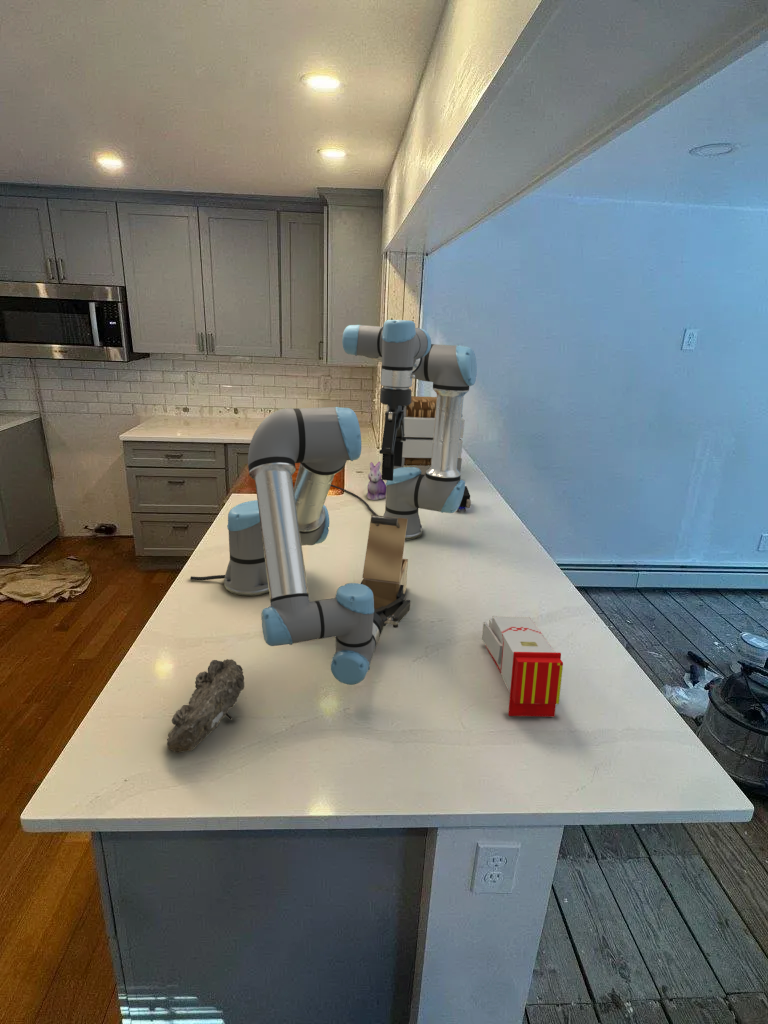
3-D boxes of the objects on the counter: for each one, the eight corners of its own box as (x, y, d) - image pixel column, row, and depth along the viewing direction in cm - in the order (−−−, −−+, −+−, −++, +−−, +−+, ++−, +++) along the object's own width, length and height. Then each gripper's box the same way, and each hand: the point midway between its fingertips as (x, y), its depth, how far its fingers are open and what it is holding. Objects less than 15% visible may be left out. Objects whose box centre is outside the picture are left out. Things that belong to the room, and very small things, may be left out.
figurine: (371, 501, 231) (372, 466, 226) (360, 494, 239) (361, 460, 234) (391, 499, 235) (393, 464, 230) (380, 492, 244) (382, 458, 238)
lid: (371, 515, 148) (366, 508, 140) (407, 519, 146) (404, 512, 138) (362, 578, 145) (356, 574, 136) (399, 582, 143) (395, 579, 135)
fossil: (192, 660, 117) (244, 628, 112) (224, 691, 120) (276, 661, 115) (142, 746, 98) (202, 712, 93) (182, 779, 101) (242, 748, 96)
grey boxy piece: (382, 463, 289) (386, 382, 275) (445, 464, 293) (451, 384, 279) (390, 482, 257) (394, 392, 243) (460, 483, 261) (468, 394, 247)
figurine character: (470, 516, 223) (465, 500, 237) (473, 499, 220) (467, 484, 233) (453, 516, 223) (449, 500, 236) (455, 498, 220) (451, 483, 233)
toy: (528, 601, 136) (572, 659, 107) (523, 653, 139) (565, 722, 110) (478, 600, 136) (508, 657, 107) (474, 652, 139) (503, 722, 109)
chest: (373, 585, 162) (374, 555, 159) (406, 589, 160) (408, 559, 157) (361, 612, 148) (362, 579, 144) (397, 616, 146) (399, 584, 143)
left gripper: (316, 639, 130) (341, 594, 151) (411, 653, 126) (423, 605, 147) (316, 610, 127) (341, 569, 148) (413, 623, 124) (425, 579, 145)
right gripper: (403, 395, 124) (398, 488, 131) (418, 382, 147) (413, 461, 154) (370, 393, 125) (367, 485, 133) (389, 380, 148) (386, 459, 156)
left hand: (382, 587), depth 148 cm, fingers closed on chest, 9 cm apart
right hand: (392, 472), depth 144 cm, fingers open, 13 cm apart
